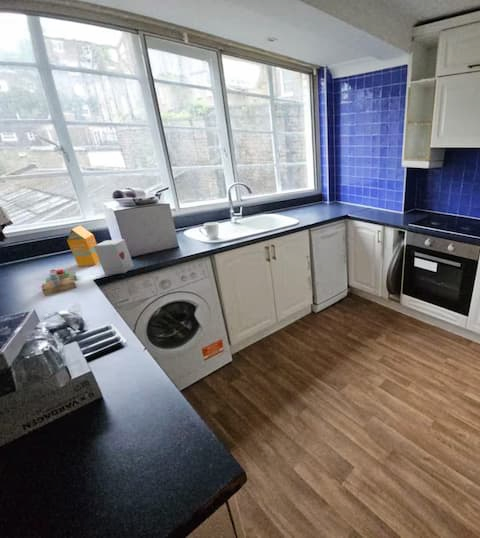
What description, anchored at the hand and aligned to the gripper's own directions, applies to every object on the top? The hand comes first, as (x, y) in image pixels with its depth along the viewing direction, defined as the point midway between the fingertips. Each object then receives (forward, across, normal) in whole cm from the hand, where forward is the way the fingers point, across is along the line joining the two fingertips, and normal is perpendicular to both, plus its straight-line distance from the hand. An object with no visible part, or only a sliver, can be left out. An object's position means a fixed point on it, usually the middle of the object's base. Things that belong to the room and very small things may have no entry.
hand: (1, 241), depth 118 cm
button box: (+23, +11, +4) cm, 26 cm away
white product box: (+23, +32, -2) cm, 40 cm away
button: (+20, +11, +3) cm, 23 cm away
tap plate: (+23, +10, -7) cm, 26 cm away
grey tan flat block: (+20, +10, -7) cm, 23 cm away
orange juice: (+23, +23, +24) cm, 41 cm away
